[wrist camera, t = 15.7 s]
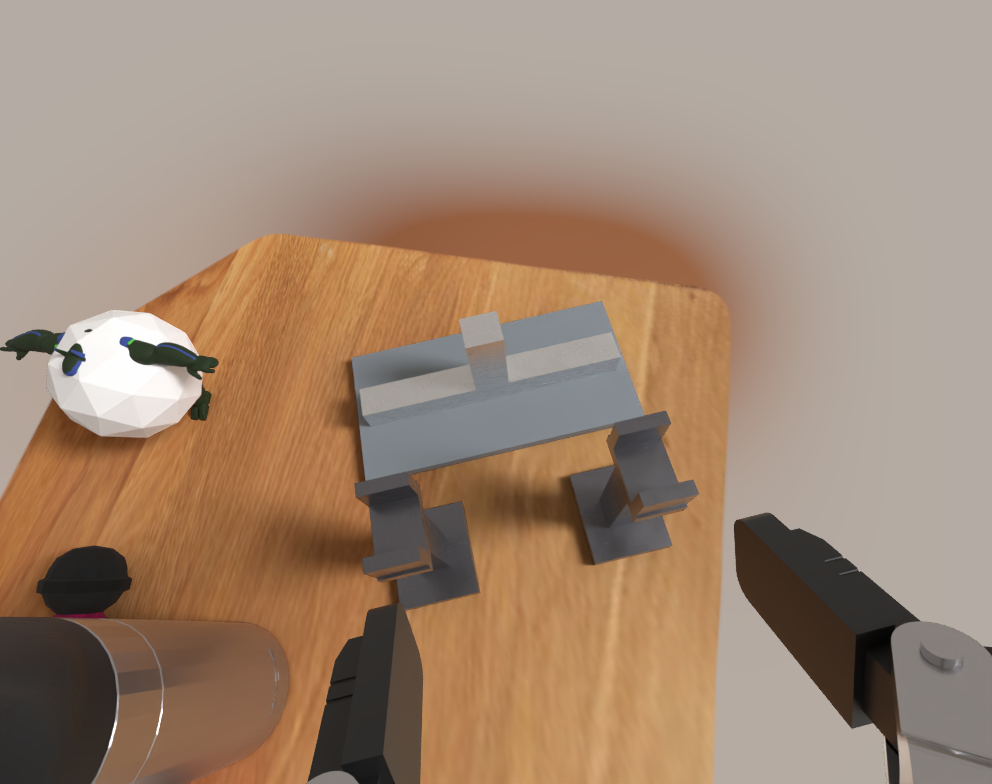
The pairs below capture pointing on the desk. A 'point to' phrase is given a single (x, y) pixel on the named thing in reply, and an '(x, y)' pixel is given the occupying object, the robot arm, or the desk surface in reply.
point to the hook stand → (599, 497)
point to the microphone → (85, 582)
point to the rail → (488, 373)
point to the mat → (495, 419)
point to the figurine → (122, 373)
